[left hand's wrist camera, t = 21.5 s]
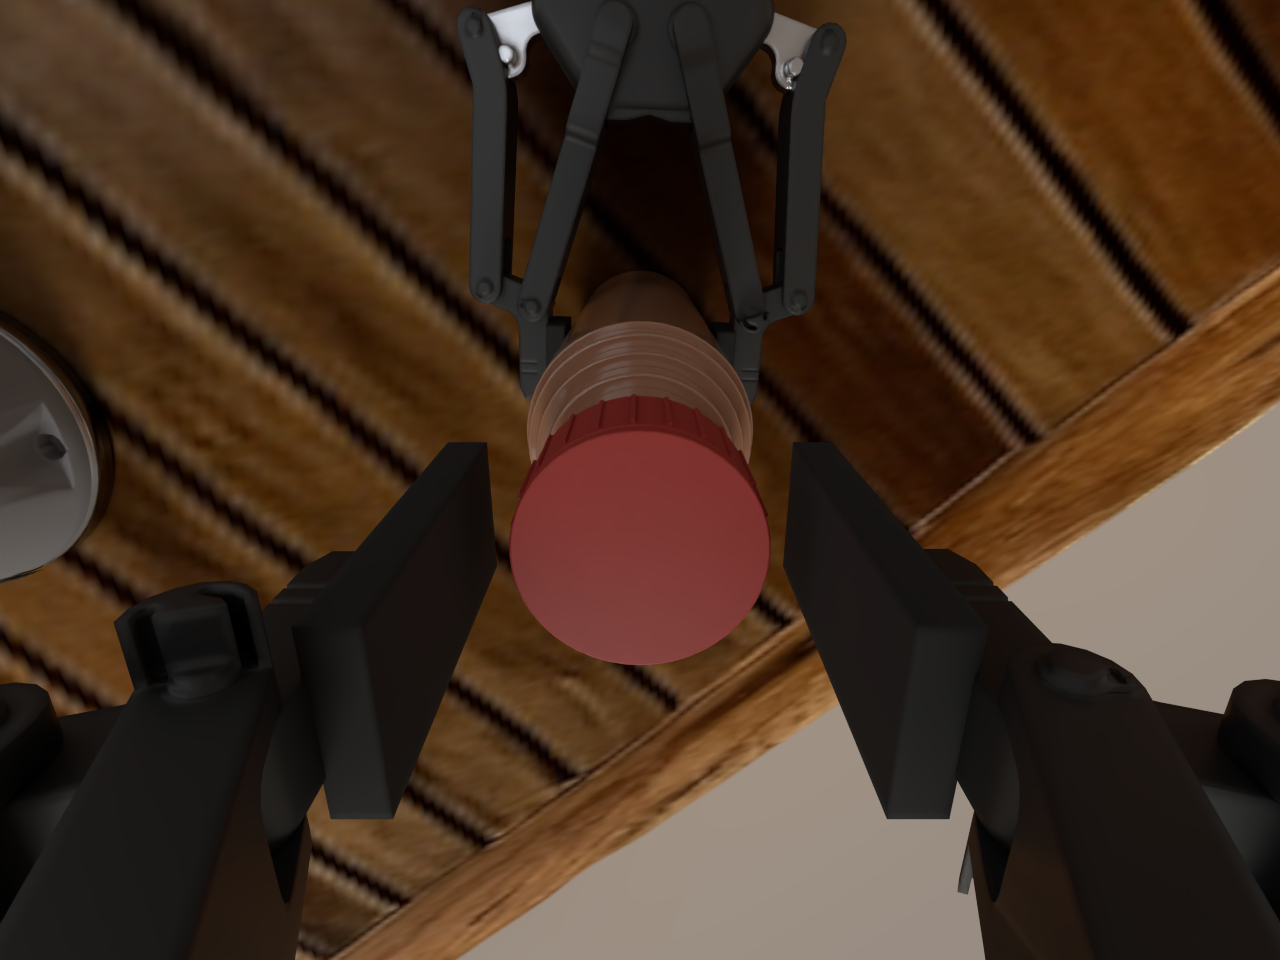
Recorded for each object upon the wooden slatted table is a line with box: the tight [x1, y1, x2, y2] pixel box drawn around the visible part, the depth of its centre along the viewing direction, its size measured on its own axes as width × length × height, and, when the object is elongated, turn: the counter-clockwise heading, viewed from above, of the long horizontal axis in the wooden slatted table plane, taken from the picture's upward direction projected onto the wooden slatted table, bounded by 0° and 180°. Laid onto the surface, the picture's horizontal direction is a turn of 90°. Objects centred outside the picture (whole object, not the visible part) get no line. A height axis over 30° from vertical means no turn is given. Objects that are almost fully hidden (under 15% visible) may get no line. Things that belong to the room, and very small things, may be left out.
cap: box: [509, 394, 770, 665], centre depth 13 cm, size 5×5×2 cm
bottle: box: [527, 271, 753, 465], centre depth 24 cm, size 6×6×24 cm
